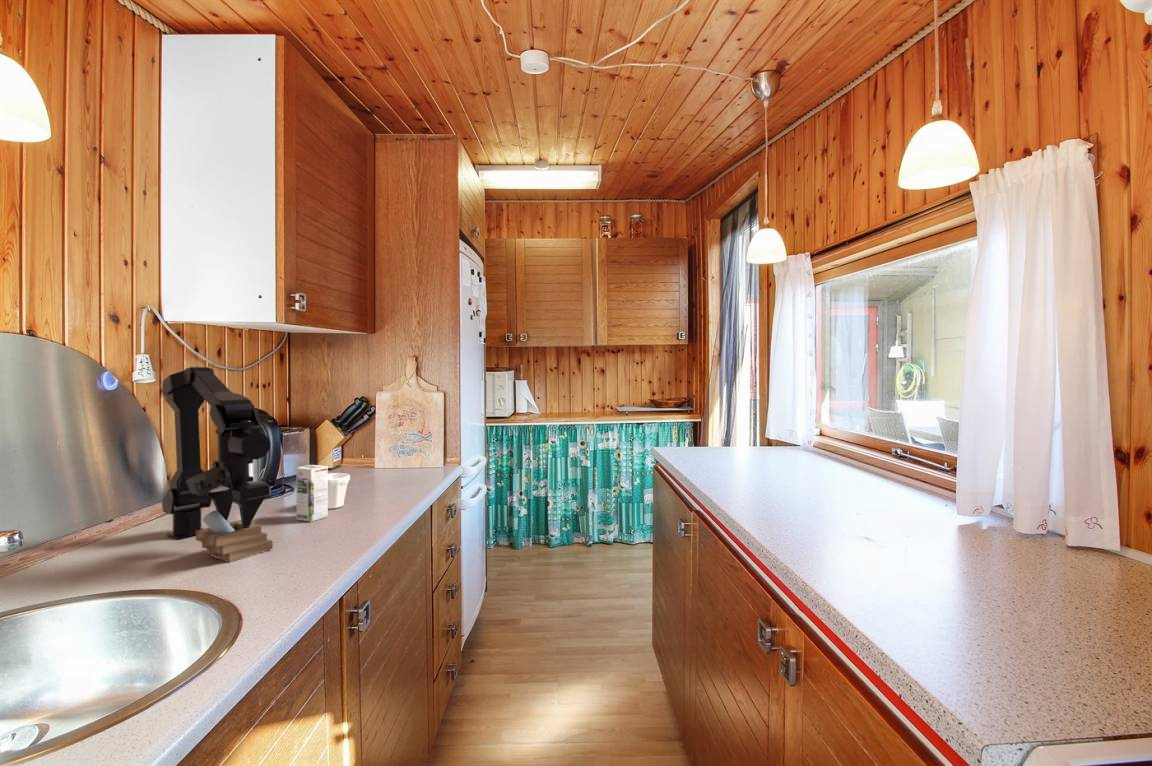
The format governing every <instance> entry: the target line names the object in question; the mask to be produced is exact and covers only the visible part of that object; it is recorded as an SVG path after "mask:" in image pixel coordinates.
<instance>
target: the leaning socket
mask: <svg viewBox="0 0 1152 766" xmlns="http://www.w3.org/2000/svg"><path fill="white" fill-rule="evenodd" d="M228 523H229V524H230V526H231V527H232V528H233V529H234V530H235V531H233V532H229V533H225V534H218V533H215V532H213V531H212V530H211V529H210V528H209V527H206V528H203V529H201V530H197V531H196V535H195V541H198V542H201V545H202V546H201V548H202V549H206V550H208V555H209V554H210V555H209V556H211V555H214V556H216V557H219V558H221V559H220V560H222V559H224V560H223V561H225V560H227V561H233V560H236V561H238V560H237V559H239V560H241V559H240V558H243V559H245V558H244V557H246V558H248V557H247V556H249V557H251V556H250V555H253V556H255V555H254V554H256V555H258V554H257V553H260V552H263V551H266V550H270V549H273V548H274V547H273V542H274V541H273V540H270V539H268V533H266V532H262V526H261V525H258V524H255V523H251V524H250V526H249V527H248V528H245V529H244V528H243V527H242V522H241V519H240V520H236V521H232V522H228ZM270 551H271V550H270ZM266 552H267V551H266ZM263 553H264V552H263ZM260 554H261V553H260ZM214 556H213V557H214ZM216 557H215V558H216ZM219 558H218V559H219ZM227 561H226V562H227ZM233 562H234V561H233Z"/></svg>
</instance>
